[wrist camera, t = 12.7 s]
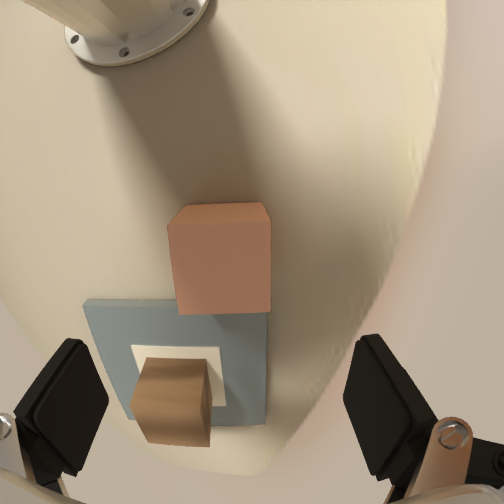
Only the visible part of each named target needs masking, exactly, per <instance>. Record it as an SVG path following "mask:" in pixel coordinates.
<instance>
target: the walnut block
mask: <svg viewBox="0 0 504 504" xmlns="http://www.w3.org/2000/svg"><path fill="white" fill-rule="evenodd" d="M212 400H213V398H212V392H211V387H210V381H209V375H208V369H207V362H206V359H180V358H152V357H146V360H145V363H144V365H143V368H142V371H141V373H140V376H139V379H138V382H137V384H136V387H135V390H134V393H133V396H132V399H131V402H130V405H129V406H130V408H131V411H132V413H133V415H134V417H135V419H136V421H137V423H138V425H139V426H140V428H141V430H142V432H143V434H144V436H145V438H146V440H147V441H148V443H156V444H165V445H176V446H192V447H210V431H211V415H212Z"/></svg>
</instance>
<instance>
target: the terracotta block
mask: <svg viewBox="0 0 504 504" xmlns="http://www.w3.org/2000/svg"><path fill="white" fill-rule="evenodd" d="M167 228H168V237H169V246H170V255H171V263H172V271H173V278H174V285H175V292H176V298H177V305H178V311H179V315H192V314H236V313H260V312H271V220H270V218H269V216H268V214H267V212H266V210H265V208H264V206H263V204H262V202H243V203H217V204H196V205H186V206H185V207H184V208H183V209H182V210H181V211H180V212H179V213H178V214H177V215H176V217H175V218H174V219H173V220H172V221H171V222H170V223H169V224H168V225H167Z"/></svg>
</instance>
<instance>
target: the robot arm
mask: <svg viewBox="0 0 504 504" xmlns="http://www.w3.org/2000/svg"><path fill="white" fill-rule="evenodd" d="M21 1H23V2H25V3H27V4H29V5H31V6H33V7H34V8H36V9H38V10H40V11H42V12H43V13H45V14H47V15H49V16H50V17H52V18H54V19H55V20H57V21H59V22H60V23H62V24H64V25H65V28H64V32H65V40H66V42H67V44H68V47H69V48H70V50H71V51H72V52H73V53H74V54H75V55H76V56H78V57H79V58H81V59H83V60H84V61H87V62H89V63H91V64H94V65H100V66H120V65H126V64H131V63H134V62H137V61H140V60H144V59H146V58H149V57H151V56H153V55H155V54H157V53H159V52H161V51H163V50H164V49H166V48H168V47H169V46H171V45H172V44H174V43H175V42H177V41H178V40H179V39H180V38H182V37H183V36H184V35H185V34H187V33H188V32H189V31H190V30H191V29H192V27H193V26H194V25H195V24H196V23H197V22H198V21H199V19H200V18H201V16H202V15H203V13H204V12H205V10H206V8H207V6H208V3H209V1H210V0H21ZM189 15H191V16H189ZM128 53H129V54H128ZM127 54H128V55H127ZM126 55H127V56H126ZM343 401H344V405H345V407H346V410H347V412H348V415H349V418H350V420H351V423H352V425H353V428H354V431H355V434H356V436H357V439H358V442H359V444H360V447H361V450H362V453H363V455H364V458H365V461H366V464H367V466H368V469H369V472H370V474H371V475H372V476H374V475H376V478H377V481H381V480H384V479H387V478H389V479H390V482H391V484H392V487H391V490H390V492H389V494H388V496H387V498H386V500H385V502H384V504H504V445H503V444H498V443H494V442H490V441H485V440H481V439H477V438H473V432H472V429H471V427H470V426H469V425H468V423H467V422H465V421H464V420H462V419H460V418H457V417H446V418H443V419H441V420H439V421H438V419H437V418H436V416H435V414H434V413H433V411H432V410H431V408H430V407H429V405H428V403H427V402H426V401H425V399H424V397H423V396H422V394H421V393H420V391H419V390H418V388H417V387H416V385H415V384H414V382H413V381H412V379H411V378H410V376H409V375H408V373H407V372H406V370H405V369H404V368H403V367H402V366H401V365H400V363H399V362H398V360H397V359H396V358H395V356H394V355H393V354H392V352H391V350H390V349H389V347H388V346H387V345H386V343H385V342H384V340H383V339H382V338H381V336H380V335H379V334H371V335H364V336H362V337H361V338H360V340H358V341H357V342H356V344H355V349H354V353H353V357H352V361H351V366H350V370H349V374H348V379H347V382H346V386H345V390H344V393H343ZM108 403H109V397H108V394H107V392H106V390H105V388H104V386H103V383H102V381H101V379H100V377H99V374H98V372H97V370H96V367H95V365H94V362H93V360H92V357H91V355H90V352H89V349H88V347H87V345H86V344H84V342H83V341H82V340H80V339H72V338H67V339H66V340H65V341H64V342H63V343H62V345H61V346H60V347H59V348H58V350H57V351H56V352H55V354H54V355H53V356H52V357H51V359H50V360H49V361H48V363H47V364H46V366H45V367H44V368H43V369H42V371H41V372H40V374H39V375H38V376H37V378H36V379H35V381H34V382H33V383H32V385H31V386H30V388H29V389H28V390H27V392H26V393H25V395H24V396H23V398H22V399H21V401H20V402H19V404H18V405H17V407H16V408H15V410H14V411H13V412H14V413H15V415H16V418H15V419H14V418H13V417H12V416H11V415H9V414H7V413H0V504H85V503H82V502H80V501H77V500H74V499H71V498H70V497H69V495H68V492H67V490H66V488H65V485H64V483H63V480H62V477H61V474H62V471H63V472H64V473H66V474H69V475H72V476H74V477H76V476H77V473H78V471H80V470H82V468H83V466H84V463H85V460H86V458H87V455H88V452H89V450H90V447H91V445H92V442H93V440H94V437H95V435H96V432H97V430H98V427H99V425H100V423H101V420H102V418H103V415H104V413H105V411H106V408H107V406H108Z"/></svg>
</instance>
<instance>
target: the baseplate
mask: <svg viewBox="0 0 504 504" xmlns="http://www.w3.org/2000/svg"><path fill="white" fill-rule="evenodd" d="M82 306H83V309H84V312H85V315H86V318H87V321H88V324H89V327H90V330H91V333H92V336H93V339H94V342H95V344H96V347H97V350H98V352H99V355H100V357H101V360H102V362H103V365H104V367H105V370H106V372H107V374H108V377H109V379H110V381H111V384H112V386H113V388H114V390H115V392H116V395H117V397H118V399H119V401H120V403H121V405H122V407H123V409H124V411H125V413H126V415H127V417H128V419H130V420H136V419H135V417H134V415H133V413H132V411H131V408H130V406H129V405H130V402H131V399H132V396H133V393H134V390H135V387H136V384H137V382H138V379H139V376H140V373H141V371H142V368H143V365H144V363H145V360H146V357H152V358H180V359H206V362H207V369H208V375H209V381H210V387H211V392H212V398H213V400H212V415H211V426H237V425H260V424H265V410H266V349H267V312H260V313H236V314H192V315H179V311H178V305H177V300H109V299H87V301H86V302H85V303H84V304H83V305H82Z"/></svg>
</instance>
